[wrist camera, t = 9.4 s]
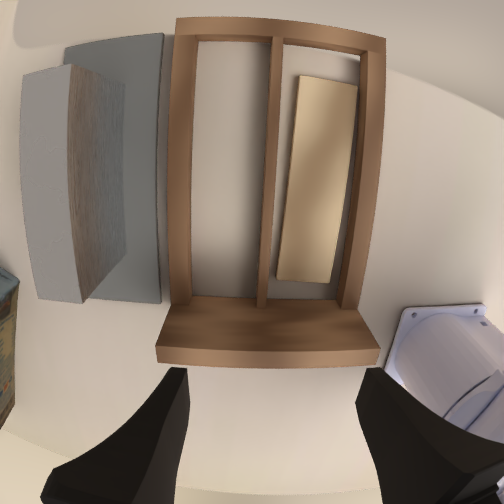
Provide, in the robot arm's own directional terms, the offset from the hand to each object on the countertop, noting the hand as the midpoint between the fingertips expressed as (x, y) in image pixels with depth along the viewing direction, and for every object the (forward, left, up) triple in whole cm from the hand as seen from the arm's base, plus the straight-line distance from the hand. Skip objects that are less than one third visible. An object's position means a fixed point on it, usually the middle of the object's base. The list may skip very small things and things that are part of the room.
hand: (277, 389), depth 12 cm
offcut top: (-3, -7, -11) cm, 13 cm away
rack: (0, -7, -10) cm, 13 cm away
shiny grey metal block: (+11, -7, -10) cm, 16 cm away
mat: (+11, -7, -10) cm, 16 cm away
